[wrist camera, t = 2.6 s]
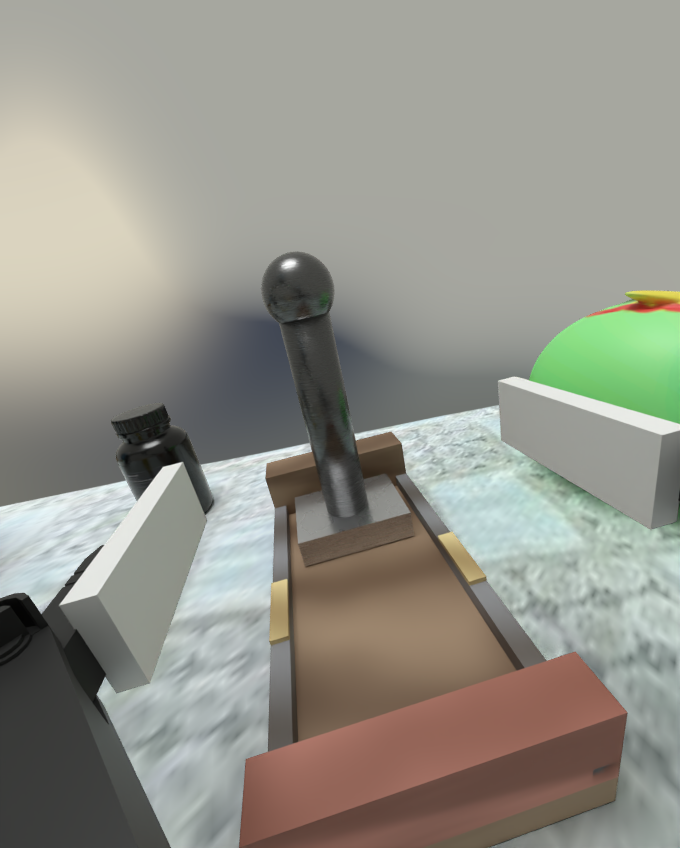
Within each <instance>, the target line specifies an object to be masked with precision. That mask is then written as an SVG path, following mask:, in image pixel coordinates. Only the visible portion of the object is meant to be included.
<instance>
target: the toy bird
mask: <svg viewBox="0 0 680 848" xmlns="http://www.w3.org/2000/svg"><path fill="white" fill-rule="evenodd" d="M625 295H626V296H628V297H630V298H632V300H629V301H626V302H624V303H622V304H619V305H615V306H612V307H609V308H606V309H603V310H601V311H599V312H596V313H593V314H591V315H589V316H586V317H584V318H582V319H581V320H579V321H577V322H575V323H573V324H572V325H570V326H569V327H567V328H566V329H564V330H563V331H562V332H561V333H559V334H558V335H557V336H556V337H555V338H554V339H553V340H552V341H551V342H550V343H549V344H548V345H547V346H546V347H545V349H544V350H543V352H542V353H541V354H540V356H539V357H538V359H537V361H536V363H535V365H534V367H533V369H532V372H531V375H530V379H529V381H532V382H536V383H539V384H543V385H546V386H550V387H553V388H557V389H560V390H564V391H567V392H570V393H574V394H577V395H581V396H584V397H588V398H591V399H595V400H598V401H602V402H605V403H609V404H612V405H615V406H619V407H622V408H626V409H629V410H633V411H636V412H640V413H643V414H647V415H650V416H654V417H657V418H660V419H664V420H667V421H671V422H674V423H678V424H680V292H672V291H671V292H670V291H631V292H627V293H625Z"/></svg>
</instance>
